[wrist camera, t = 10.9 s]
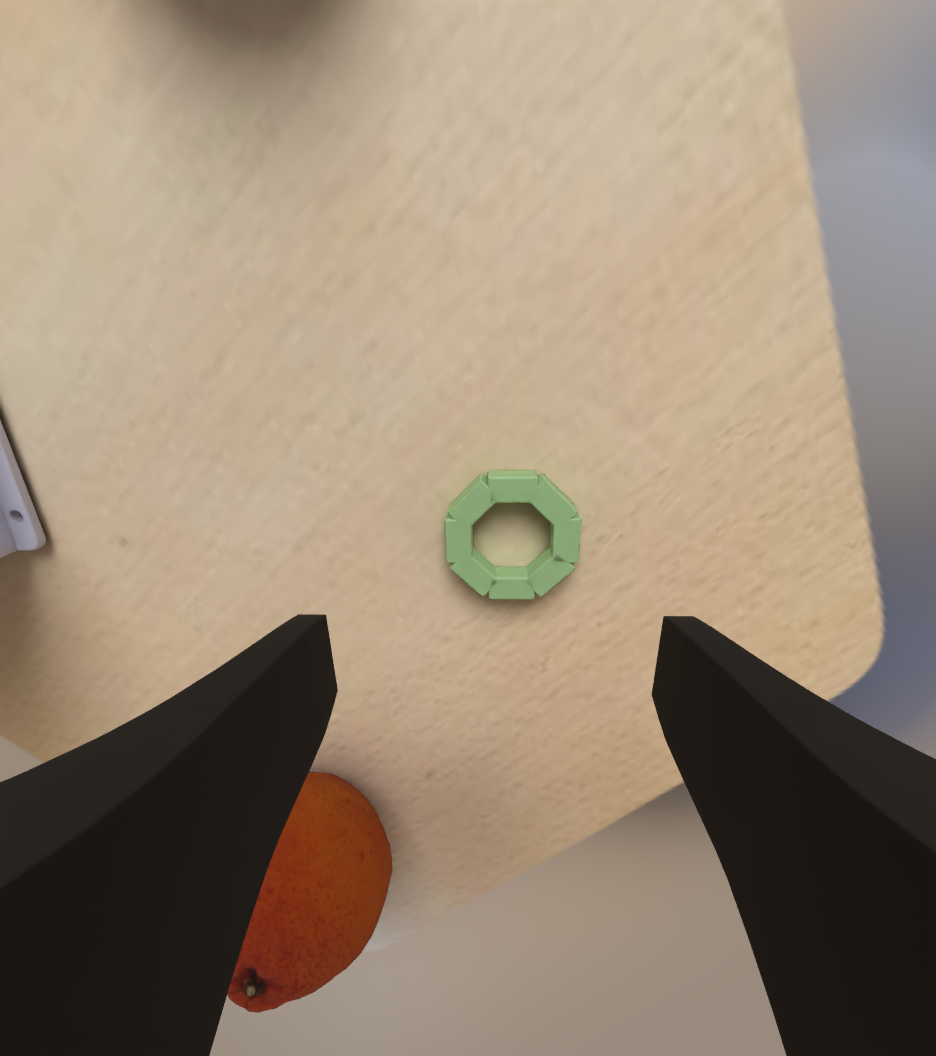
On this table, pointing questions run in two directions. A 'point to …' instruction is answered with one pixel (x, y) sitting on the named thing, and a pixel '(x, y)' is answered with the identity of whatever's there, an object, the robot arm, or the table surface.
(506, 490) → the ring
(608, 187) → the table surface
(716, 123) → the table surface
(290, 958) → the fruit
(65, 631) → the table surface
